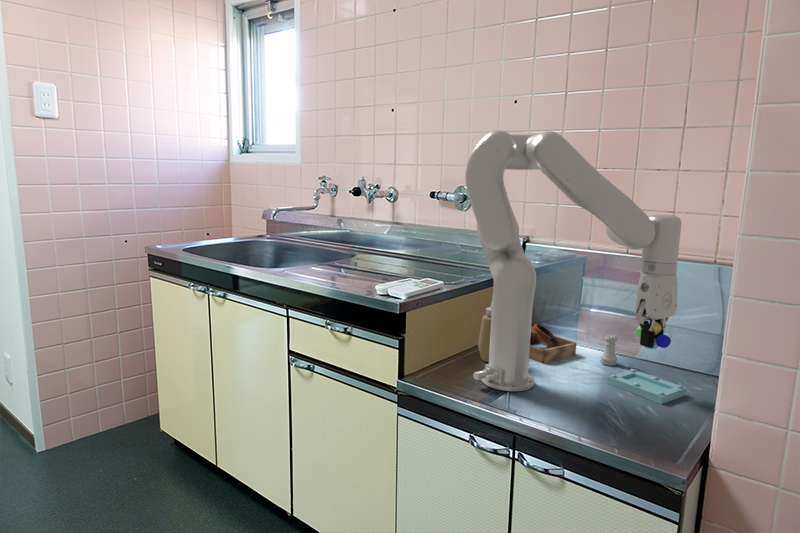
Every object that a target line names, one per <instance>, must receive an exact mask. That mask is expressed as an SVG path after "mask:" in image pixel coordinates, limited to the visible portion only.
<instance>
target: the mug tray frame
mask: <svg viewBox="0 0 800 533" xmlns="http://www.w3.org/2000/svg"><path fill="white" fill-rule="evenodd" d="M554 337H555V340H554V341H553V348H549V349H547V348H545V349H542V348H540V347H537V346H534V345H532V344H531V345H530V353H529V360H532V361H535V362H538V363H540V364H543V363H544V364H547V363H550V362H554V361H555V362H556V361H558V360H562V359H565V358H570V357H574V356H576V353H577V342H574V341H572V340H569V339H566V338H563V337H560V336H556V335H554ZM533 342H534V343H535V342H536V343H538V344H540V345H541V344H542V345H544V346H547V347H548V343H546V342H545V341H544V340H541V339H540V338H538V337H537V335H536V337H535V340H534V341H533Z"/></svg>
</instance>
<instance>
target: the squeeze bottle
mask: <svg viewBox="0 0 800 533" xmlns="http://www.w3.org/2000/svg"><path fill="white" fill-rule="evenodd" d="M491 309H492V302H491V303H490V306H488V307H486V308H485V315H483V316H482V318H481V325H480V329H479V330H480V331H479V336H478V343H477V347H478V348H477V349H478V352H479V355H480V358H481V360H482V361H484V362H486V363H487V362H488V363H489V350H490V331H491Z"/></svg>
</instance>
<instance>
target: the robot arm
mask: <svg viewBox="0 0 800 533" xmlns="http://www.w3.org/2000/svg"><path fill="white" fill-rule="evenodd" d="M505 170H510V171H511V170H512V171H513V170H515V171H523V170H524V171H526V170H527V171H531V170H532V171H533V170H534V171H535V170H539V171H541V173H543V174H544V175H545V176H546V178H547V179H549V180H550V181H551V182H552V183H553V184H554V185H555V186H556V187H557V188H558V189H559V190H560V191H561V193H563V194H564V195H565V196H566V197H567V198H568V199H569V200H570V202H572V203H574V204H575V205H576V206H578V207H579V208H581V209H584V210H586V211H587V212H589V213H590V214H592V215H594V217H596V218H597V219H598V220H599V221H600V222H602V223H603V225H605V230H606V231H605V232H606V234H607V235H606V236H608V238H609V239H610V240H611V241H612V242H613V243H615V244H617V245H620V246H622V247H626V248H628V249H632V250H641V251H642V252H641V263H640V273H639V274H640V276H639V280H638V284H637V291H636V297H635V306H634V311H635V312H634V313H635V315H636V316H635V318H634V320H635V323H637V324H638V325H639V327H640V329H641V337H640V338H639V339H640V340H639V344H640V346H642V347H644V346H645V347H649V348H653V347H654V340H655V339H656V338H657V337H658V336H659V335H665V334H664V333H665V332H664V331H665V329H666V327H667V324H666V323H667V321H668V319H669V318H670V317H673V316H675V315H676V314H677V308H678V307H677V306H678V305H677V304H678V278H677V270H678V260H679V251H680V241H681V234H682V233H681V232H682V220H681V218H680V217H679V216H677V215H671V214H651V215H648V214H646V213H645V212H644V211H643V210H642V209H641V208H640V207H639V205H638V204H636V202H634V201H633V200H632V199H631V198H630V197H629V196H628V195H627V194H625V192H623V190H620V189H619V188H618V187H617V186H615V185H614V183H612V182H611V181H610V180H609V179H607V177H605V176H604V175H602V174H601V173H600V172H599V171H598V170H597V169H596V168H595V167H594V166H593V165H591V163H590V162H588V160H587V159H586V158H585V157H584V156H583V155H582V154H580V153H579V151H578V150H577V149H576V148H574V146H573V145H572V144H570V142H569V141H568V140H567V139H566V138H564V136H563V135H561V134H560V133H558V132H556V131H552V130H548V131H543V132H540V133H536V134H511V133H509V132H507V131H505V130H497V129H496V130H492V131H490V132H487V133H486V134H485V135H483V137H482V138H481V139H480V141H479V142H478V143H477V144H476V145H475V147H474V149H473V150H472V152H471V153H470V155H469V157H468V160H467V164H466V168H465V186H466V190H467V191H466V192H467V194H468V198H469V201H470V202H469V203H470V205H471V208H472V212H473V215H474V217H475V218H474V219H475V221H476V233H477V236H478V240H479V242H480V245H481V248H482V251H483V254H484V257H485V260H486V263H487V266H488V268H489V271H490V273H491V276H492V280H493V289H492V299H491V303H492V309H491V331H490V350H489V362H488V363H485V366H484V368H483V369H482V370H478V371H474V372H473V375H472V376H473V379H474V380H475V381H479V380H480V381H481V382H482V383H483V384H484V385H486V386H487V387H490V388H492V389H495V390H498V391H503V392H504V391H505V392H515V393H516V392H523V391H527V390H531V389H532V388H533V387H534V386H535V378H534V377H533V376H532V375H530V374H529V364H530V358H529V353H530V338H531V327H532V320H533V307H534V298H535V294H536V293H535V291H536V286H537V272H536V269H535V267H534V264H533V263H532V261H531V260H530V258H528V257H527V256H526V254H525V251H524V248H523V246H522V242H521V240H520V226H519V223H518V221H517V219H516V216H515V213H514V212H513V209H512V206H511V202H510V200H509V196H508V193H507V189H506V186H505V181H504V175H505ZM655 322H657V323H659V324H660V325H661V328H662V329H661V331H660V332H659V333H658V334H657V335H655V331H653V330H654V324H655ZM649 323H650V324H649ZM645 347H644V348H645Z"/></svg>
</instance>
